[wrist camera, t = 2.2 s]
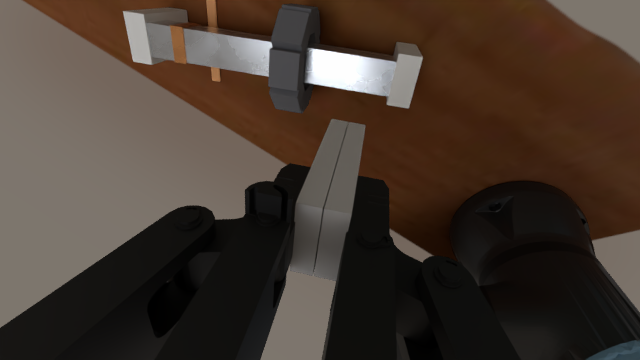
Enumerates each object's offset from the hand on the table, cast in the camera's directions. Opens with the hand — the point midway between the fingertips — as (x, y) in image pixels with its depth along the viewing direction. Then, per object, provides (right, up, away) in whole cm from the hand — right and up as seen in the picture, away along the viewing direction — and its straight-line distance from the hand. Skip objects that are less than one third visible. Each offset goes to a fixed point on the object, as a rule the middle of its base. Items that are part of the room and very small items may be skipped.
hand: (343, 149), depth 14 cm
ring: (-2, +13, +19) cm, 23 cm away
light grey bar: (-5, +11, +16) cm, 20 cm away
